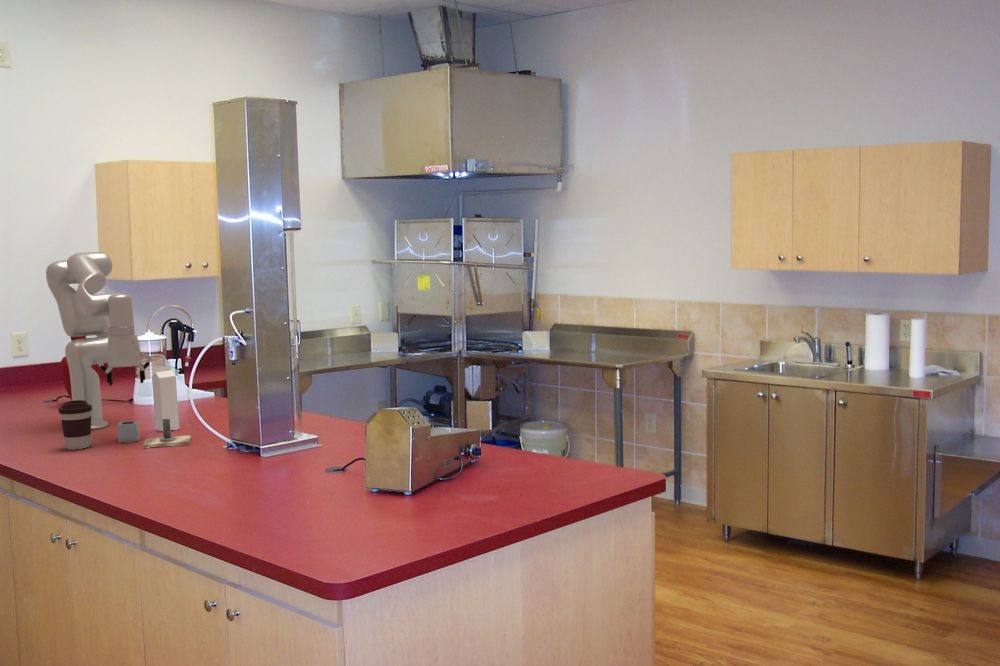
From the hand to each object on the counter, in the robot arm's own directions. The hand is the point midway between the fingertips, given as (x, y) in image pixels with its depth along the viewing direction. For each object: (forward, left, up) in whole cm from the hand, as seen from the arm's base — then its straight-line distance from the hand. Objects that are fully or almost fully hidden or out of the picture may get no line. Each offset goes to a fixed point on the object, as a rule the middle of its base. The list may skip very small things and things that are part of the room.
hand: (126, 383), depth 340 cm
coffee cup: (-16, -5, -19) cm, 25 cm away
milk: (+10, +14, -19) cm, 26 cm away
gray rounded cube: (-1, 0, -19) cm, 19 cm away
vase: (-27, +78, -19) cm, 85 cm away
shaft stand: (+12, -10, -19) cm, 25 cm away
